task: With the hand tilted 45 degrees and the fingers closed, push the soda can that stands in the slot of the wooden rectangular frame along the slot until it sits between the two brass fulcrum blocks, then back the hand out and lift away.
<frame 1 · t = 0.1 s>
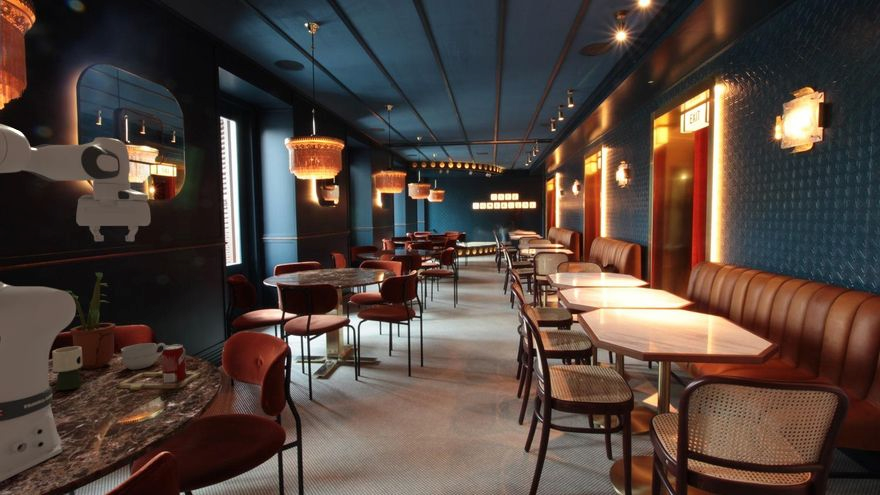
hand: (114, 241, 127), 48 cm above the table, tool pointing down, fingers open, 8 cm apart
potted plant: (88, 369, 157), on the table
wooden rectangular frame: (160, 381, 144), on the table
soda can: (174, 382, 144), resting in wooden rectangular frame
teacup: (145, 366, 160), on the table
character mug: (69, 389, 138), on the table
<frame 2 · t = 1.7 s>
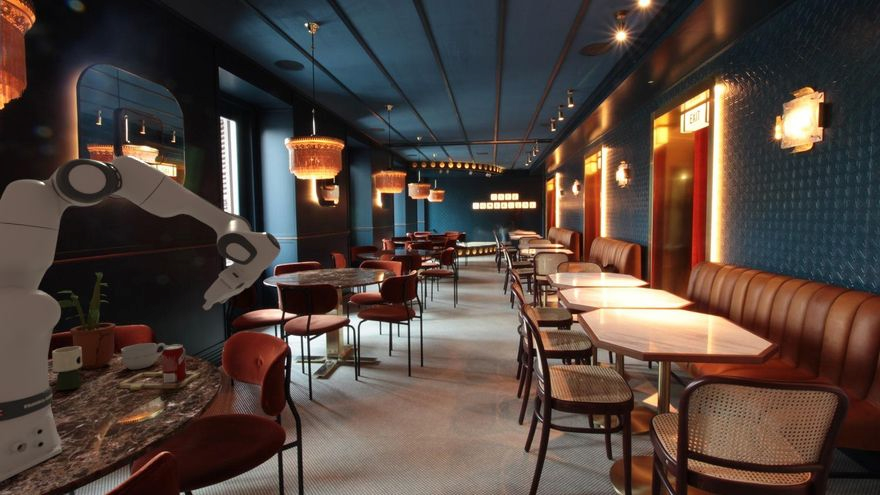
hand: (213, 305, 140), 27 cm above the table, tool tilted 45°, fingers open, 8 cm apart
nothing on the table moved.
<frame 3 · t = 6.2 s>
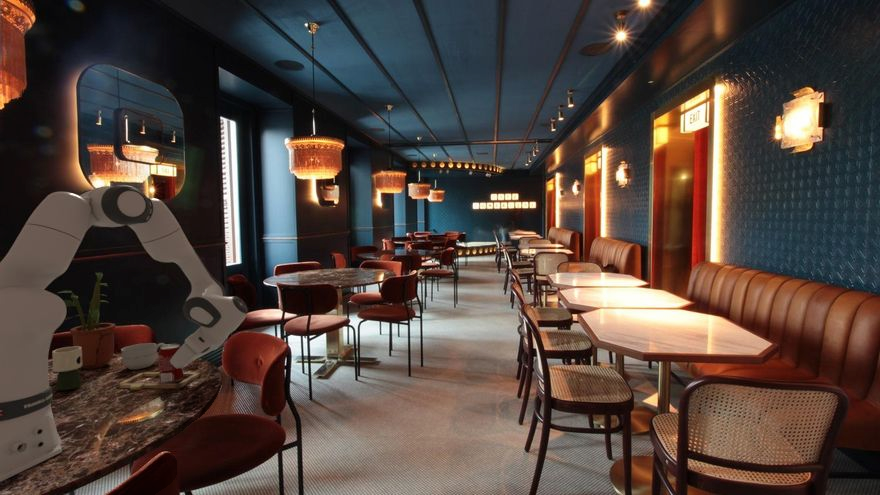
hand: (182, 365, 144), 5 cm above the table, tool tilted 45°, fingers closed, pressing on soda can
soda can: (171, 381, 144), resting in wooden rectangular frame, touching gripper
everything else where it was.
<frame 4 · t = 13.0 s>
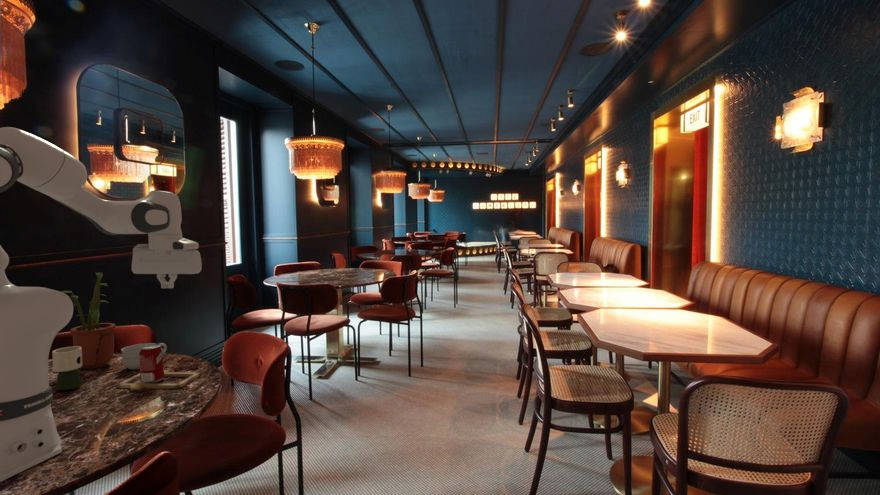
hand: (167, 288, 133), 33 cm above the table, tool pointing down, fingers closed
soda can: (152, 381, 145), resting in wooden rectangular frame
everything else where it was.
at the end: soda can 0.4 cm from the target spot on the wooden rectangular frame, point 0.0 cm above the wooden rectangular frame's base; soda can tilted 0°; soda can moved 7.7 cm from its start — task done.
